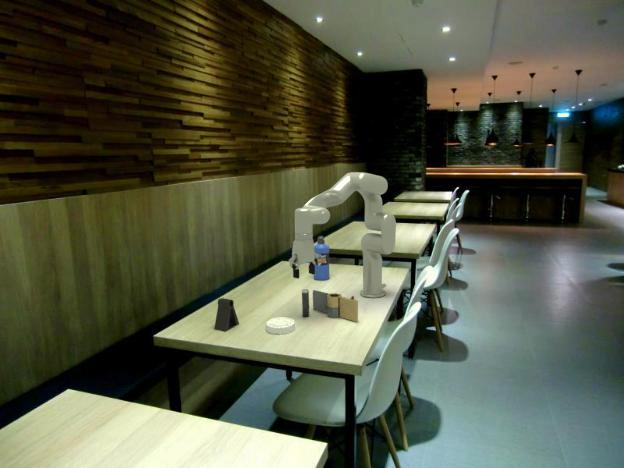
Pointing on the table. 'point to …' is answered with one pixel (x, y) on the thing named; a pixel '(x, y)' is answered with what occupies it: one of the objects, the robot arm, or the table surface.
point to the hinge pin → (305, 303)
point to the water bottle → (321, 260)
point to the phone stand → (226, 315)
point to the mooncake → (280, 325)
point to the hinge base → (324, 305)
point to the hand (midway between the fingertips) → (304, 275)
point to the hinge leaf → (344, 306)
